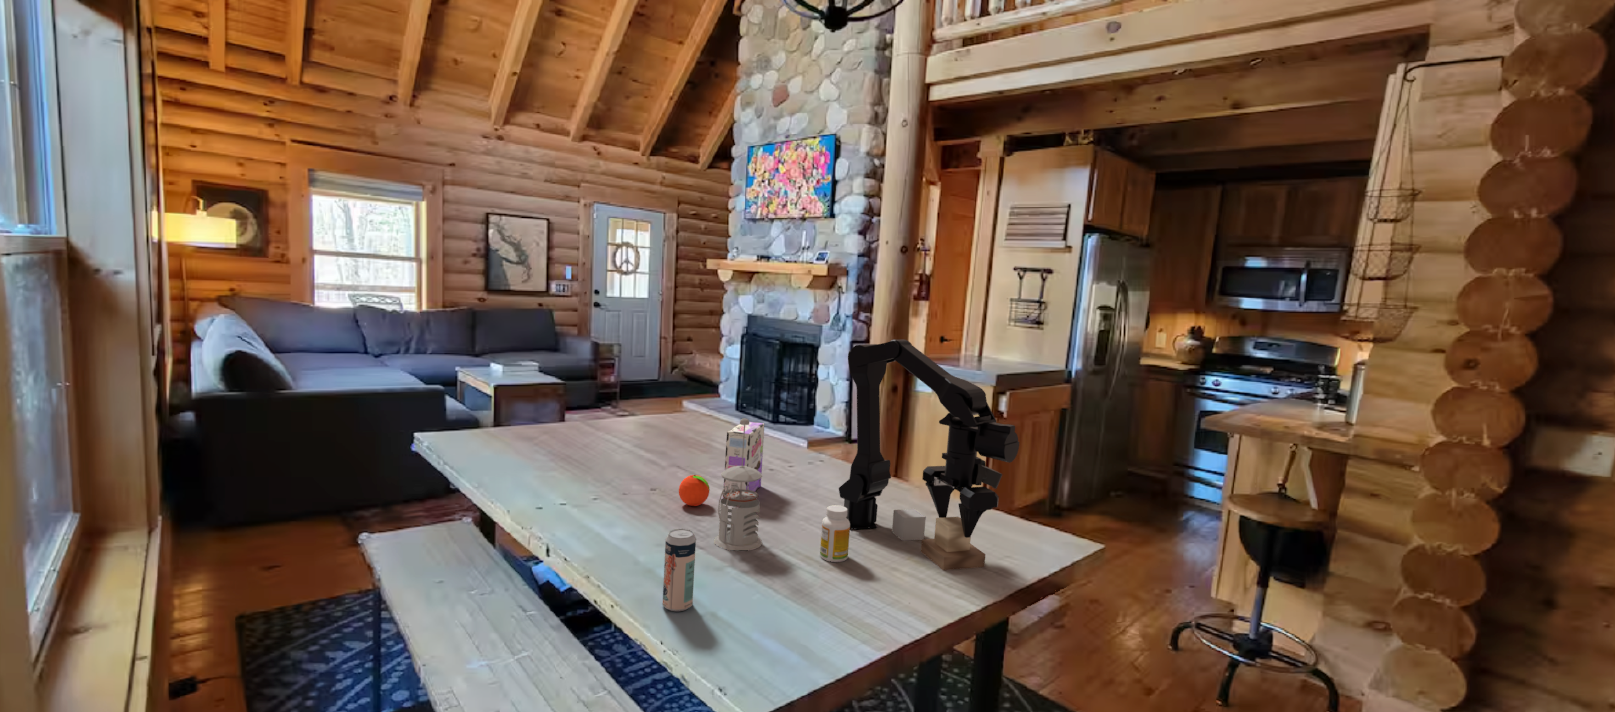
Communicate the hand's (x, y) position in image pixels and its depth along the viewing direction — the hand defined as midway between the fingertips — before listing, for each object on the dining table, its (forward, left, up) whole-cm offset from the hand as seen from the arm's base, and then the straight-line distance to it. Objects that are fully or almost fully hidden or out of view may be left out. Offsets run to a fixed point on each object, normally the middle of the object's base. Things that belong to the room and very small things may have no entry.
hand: (954, 528), depth 136 cm
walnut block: (0, 0, -7) cm, 7 cm away
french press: (-40, +15, -6) cm, 43 cm away
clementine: (-44, +38, -6) cm, 58 cm away
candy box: (-31, +46, -6) cm, 56 cm away
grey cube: (-3, +13, -6) cm, 15 cm away
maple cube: (0, 0, -4) cm, 4 cm away
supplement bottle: (-23, +5, -6) cm, 24 cm away
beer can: (-55, -9, -6) cm, 56 cm away
